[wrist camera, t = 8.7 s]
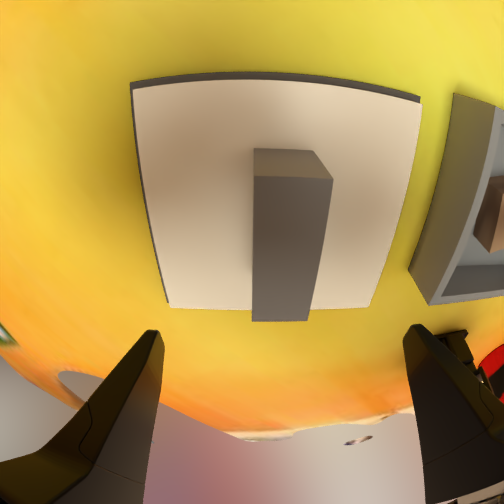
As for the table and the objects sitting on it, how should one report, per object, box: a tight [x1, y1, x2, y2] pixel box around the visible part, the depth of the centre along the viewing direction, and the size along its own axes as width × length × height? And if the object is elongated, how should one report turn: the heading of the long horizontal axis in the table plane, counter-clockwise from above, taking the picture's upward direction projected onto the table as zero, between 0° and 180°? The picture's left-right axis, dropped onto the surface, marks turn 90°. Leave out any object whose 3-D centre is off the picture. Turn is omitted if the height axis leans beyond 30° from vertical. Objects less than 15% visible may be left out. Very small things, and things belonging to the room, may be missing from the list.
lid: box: [133, 80, 423, 321], centre depth 14 cm, size 15×15×5 cm
